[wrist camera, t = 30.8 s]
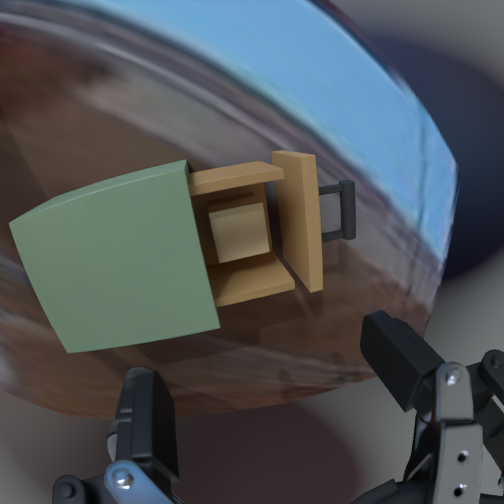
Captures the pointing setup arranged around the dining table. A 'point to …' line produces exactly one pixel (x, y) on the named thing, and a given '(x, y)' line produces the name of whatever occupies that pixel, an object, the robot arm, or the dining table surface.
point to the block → (238, 226)
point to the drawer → (291, 225)
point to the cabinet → (119, 261)
